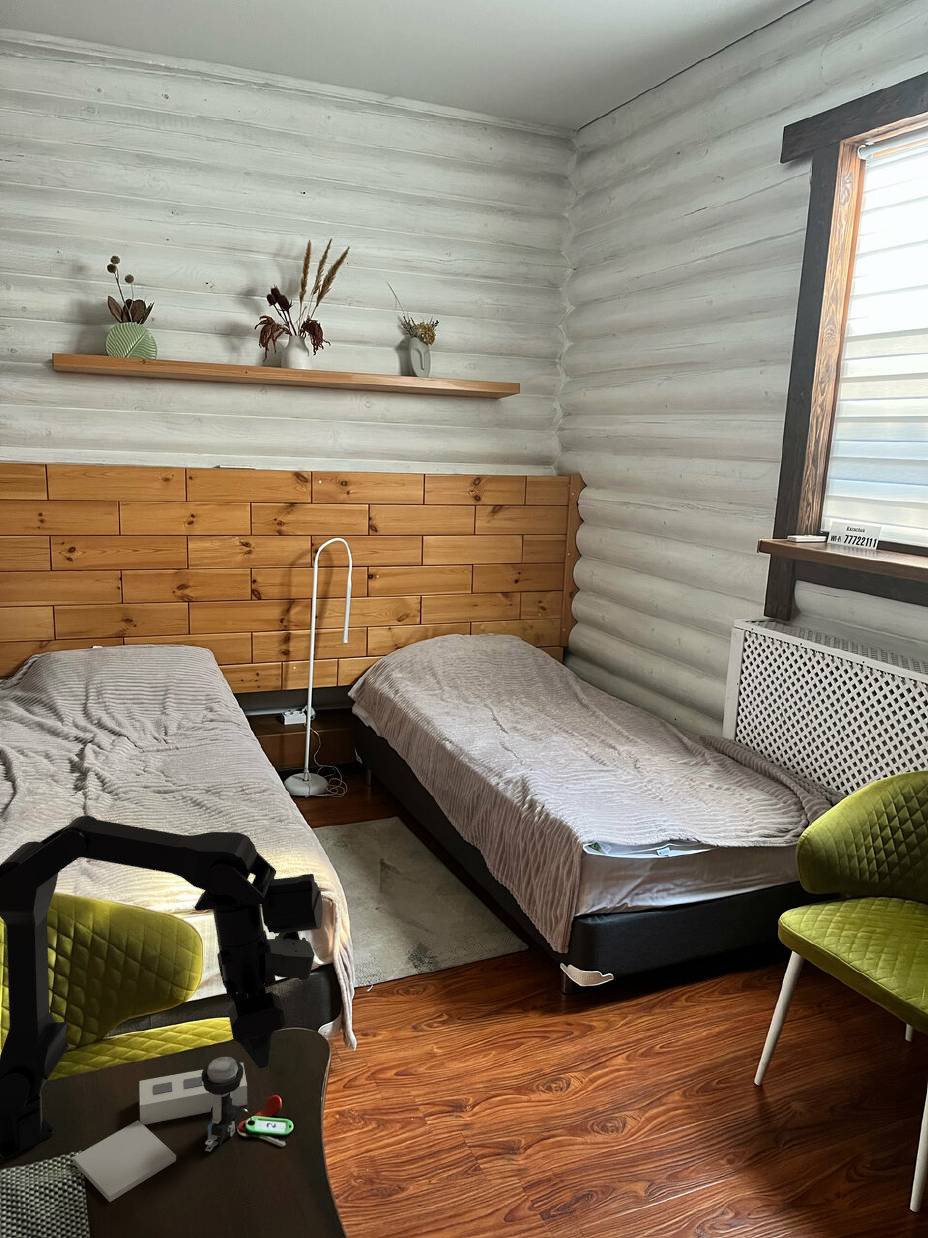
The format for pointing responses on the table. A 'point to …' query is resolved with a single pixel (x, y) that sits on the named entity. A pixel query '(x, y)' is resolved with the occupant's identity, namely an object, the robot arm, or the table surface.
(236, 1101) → the power strip
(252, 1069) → the table surface
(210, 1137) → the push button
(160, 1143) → the rubber mat
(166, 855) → the robot arm
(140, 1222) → the table surface
